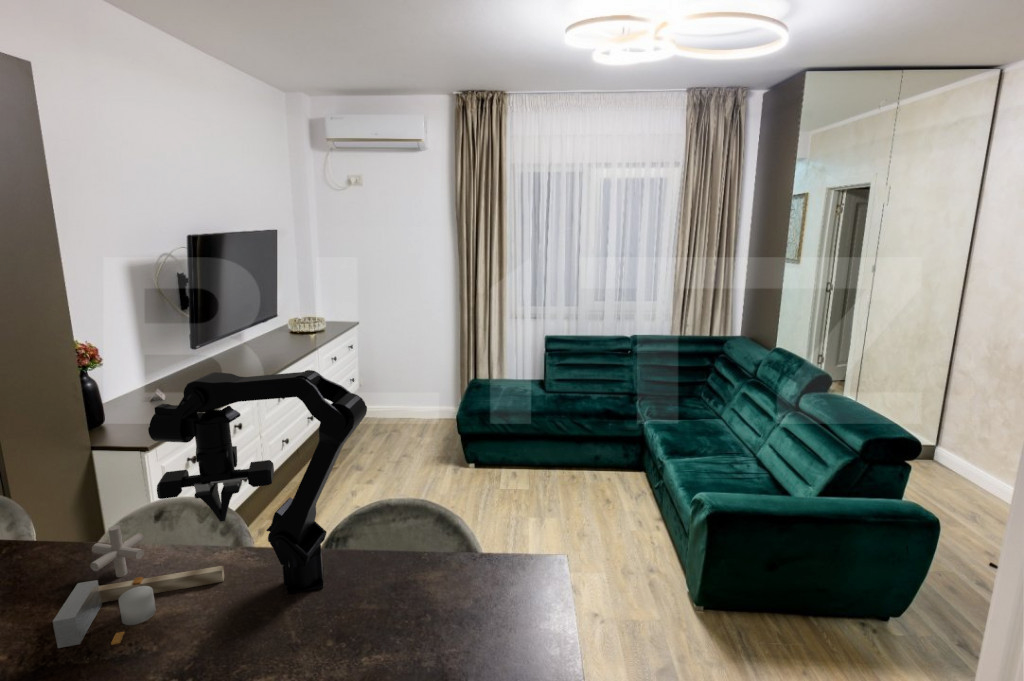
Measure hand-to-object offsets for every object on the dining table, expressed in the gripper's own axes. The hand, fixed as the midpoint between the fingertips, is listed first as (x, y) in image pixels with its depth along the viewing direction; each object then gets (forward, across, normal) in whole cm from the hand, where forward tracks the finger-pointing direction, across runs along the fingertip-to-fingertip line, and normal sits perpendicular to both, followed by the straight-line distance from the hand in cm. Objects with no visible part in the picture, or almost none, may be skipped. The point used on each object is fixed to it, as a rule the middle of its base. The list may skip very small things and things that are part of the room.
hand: (223, 520), depth 107 cm
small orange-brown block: (+12, +15, +12) cm, 23 cm away
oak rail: (+12, +12, 0) cm, 17 cm away
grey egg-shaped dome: (+12, +13, +7) cm, 19 cm away
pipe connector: (+12, +20, -7) cm, 24 cm away
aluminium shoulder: (+12, +22, +7) cm, 26 cm away
